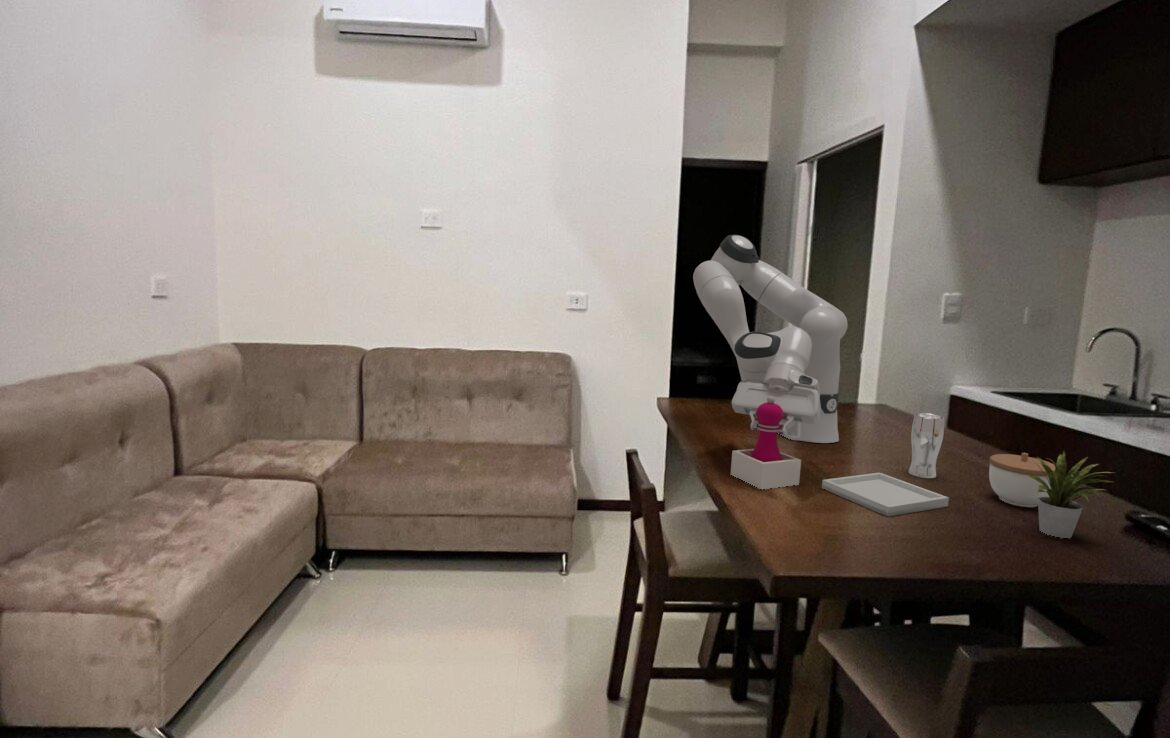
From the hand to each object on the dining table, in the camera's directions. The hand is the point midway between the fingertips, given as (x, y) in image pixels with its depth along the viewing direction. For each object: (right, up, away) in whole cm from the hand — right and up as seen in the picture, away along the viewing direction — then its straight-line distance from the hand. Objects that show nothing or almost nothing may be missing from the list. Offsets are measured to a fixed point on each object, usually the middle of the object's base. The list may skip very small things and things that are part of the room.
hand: (767, 431), depth 149 cm
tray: (+24, -14, -6) cm, 28 cm away
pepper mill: (0, -12, +2) cm, 12 cm away
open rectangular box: (0, -12, +2) cm, 12 cm away
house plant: (+48, -18, -24) cm, 57 cm away
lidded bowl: (+54, -15, -5) cm, 57 cm away
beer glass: (+42, -12, +12) cm, 45 cm away
